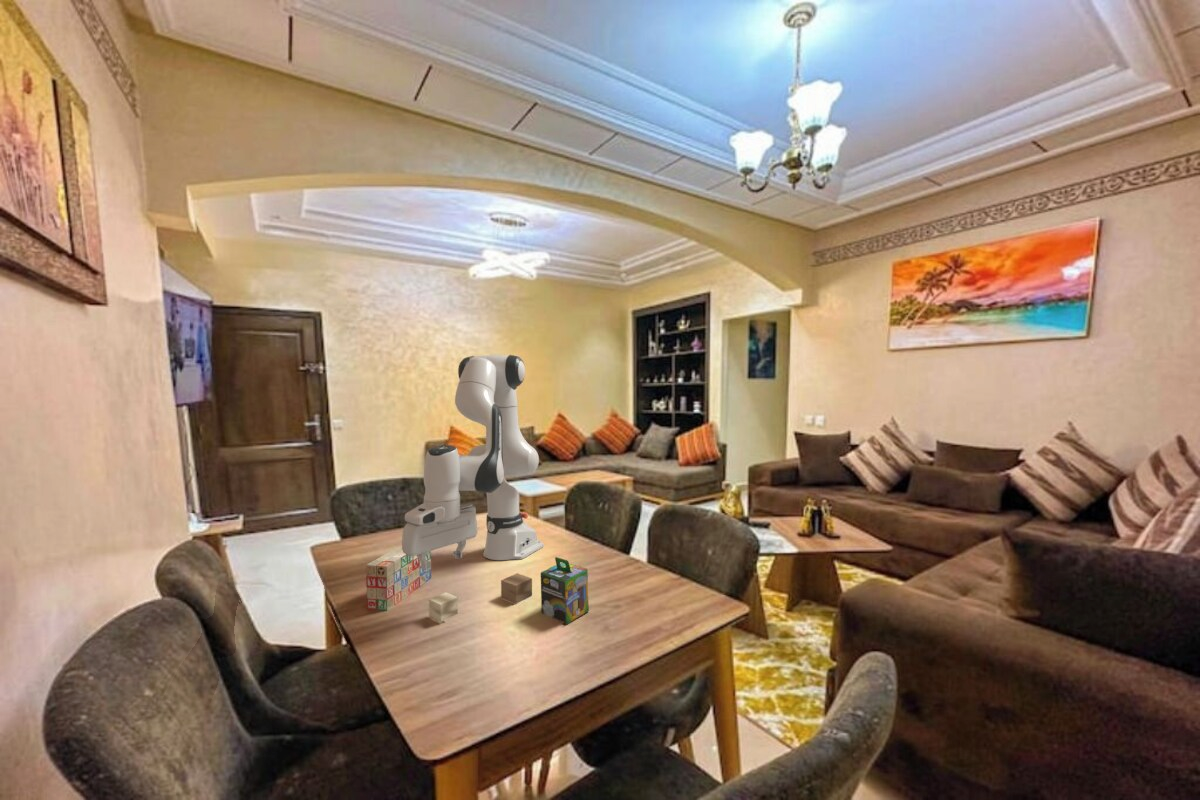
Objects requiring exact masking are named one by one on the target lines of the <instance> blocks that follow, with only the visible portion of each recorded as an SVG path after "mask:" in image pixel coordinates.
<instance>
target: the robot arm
mask: <svg viewBox="0 0 1200 800" xmlns="http://www.w3.org/2000/svg"><path fill="white" fill-rule="evenodd" d="M457 371H458V372H457V373H458V374H457V375H458V379H459V381H458V384H457V388H456V391H455V396H454V404H455V407H456V409H457V411H458V412H459V413H460V414H461V415H462V416H463V417H465V418H466V419H468V420H470V421H472V422H475V423H478V424H480V425H482V426H484V427H485V444H483V445H476V446H473V447H472V448H471V449H470V450H469V453H468V455H466V454H460V453H459V451H458V448H457V446H455V445H451V444H443V445H436V446H434V447H430V448H429V449H428V450H427V451H426V454H425V459H424V466H423V467H424V468H423V484H424V488H425V490H424V496H423V503H421V504H419V505H418V506H416V507H414V508H413V509H411V510H409V511H408V512H406V513H405V514H404V521H405V522H407V523H406V524H405V525H404V527H403V530H402V536H401V537H402V539H401V549H402V551H403V552H404V553H405V554H406V555H409V556H416V555H417V557H418V559H419V560H420V562H421V568H422V569H423V570H427V569H429V568H430V561H427V560H426V559H425V557H426V556H427V552H429V551H430V552H432V551H436V550H438V549H441V548H444V547H445V548H446V547H449V546H452V545H453V544H457V547H456V550H454V551H453V558H454V559H456V560H459V559H462V558H463V551H464V549H465V547H466V545H467V541H468V540H471V539H473V538H474V539H475V538H476V537H477V535H478V532H479V527H478V520H477V514H476V512H477V511H476V510H477V509H476V508H477V507H476V506H475V505H474V504H472V503H466V504H461V494H460V491H462V492H468V491H469V492H477V493H478V492H480V493H485V494H486V502H487V514H486V539H485V546H484V550H483V553H482V555H483V557H484V558H485V559H488V560H493V561H507V560H508V561H509V560H523V559H525V558H526V557H529V555H531V554H533V553H535V552H537V551H538V550H540V549H541V548H544V543H543V542H542V541H541V540H539V539H538V535H537V531H536V530H535V528H533V527H532V526H531V525H529V524H527V523H526V522H525V521H524V519H528V517H529V514H528V512H522V513H521V512H520V493H519V491H518V489H517V488H516V487H515V486H513V485H511V484H509V483H508V481H507V480H506V478H505V476H506V477H507V476H509V477H523V476H529V475H533V474H534V473H535V472H536V471H537V469H538V466H539V463H540V458H539V454H538V451H537V450H536V449H535V448H534V447H533V445H531V444H529V443H528V441H526V439H525V438H524V436H523V434H522V432H521V429H520V424H519V417H518V416H519V411H518V407H519V406H518V396H517V388H518V387H520V386H521V384H522V383H523V382H524V380H525V376H526V375H525V374H526V367H525V363H524V361H523V359H522V358H521V357H520V356H519V355H518V356H517V355H512V354H509V355H505V354H490V355H489V354H488V355H478V356H474V355H472V356H467V357H464V358H463V359H462V360H461V361H460V362H459V365H458V370H457Z"/></svg>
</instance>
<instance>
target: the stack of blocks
mask: <svg viewBox="0 0 1200 800" xmlns="http://www.w3.org/2000/svg"><path fill="white" fill-rule="evenodd" d="M431 555H432V554H431V551H429V552H427V556H426V557H425V559H426V560H427V561H430V568H429V569H427V570H423V569H422V568H421V562H420V560H419V559H418V557H417V555H416V556H409V555H406V554H405V553H404V552H403V551H402V548H393V549H392V550H390V551H389V552H386V553H384V554H383V555H381V556H380V557H378V558H376V559H374V560H372V561H371V562H369V563H366V567H365V568H366V569H365V570H366V571H365V572H366V577H365V580H366V583H365V584H366V609H367V610H377V611H384V612H385V611H386V612H387V611H389V610H390V609H392V608H393V607H395V606H396V605H397V604H399V603H401V602H402V601H403V600H404V599H406V598H408V596H409V595H410V594H412V593H413V592H415V591H416V590H417V589H418V588H420V587H422V586H423V584H426V583H427V582H428V581H430V580H431V579H432V559H431Z"/></svg>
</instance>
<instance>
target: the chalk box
mask: <svg viewBox="0 0 1200 800" xmlns="http://www.w3.org/2000/svg"><path fill="white" fill-rule="evenodd" d="M554 559H555V563H556V564H555V565H553V566H550V567H549V568H548V569H545V570H542V571H541V572H540V600H541V602H540V604H541V606H540V607H541V613H542V614H544V615H546V616H548V617H550V618H553V619H555V620H558V621H559V622H562V623H563V625H564V626H568V624H569V623H570V624H571V623H572V622H573V621H575V620H576V619H578V618H580V617H581V616H583V615H584V614H586V613H587V612H589V611H590V607H589V579H588V577H589V572H588V568H587V567H586V568H585V567H582V566H581V565H576V564H572V563H570V562H569V560H568V559H563V558H561V557H557V556H555V557H554Z"/></svg>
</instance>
